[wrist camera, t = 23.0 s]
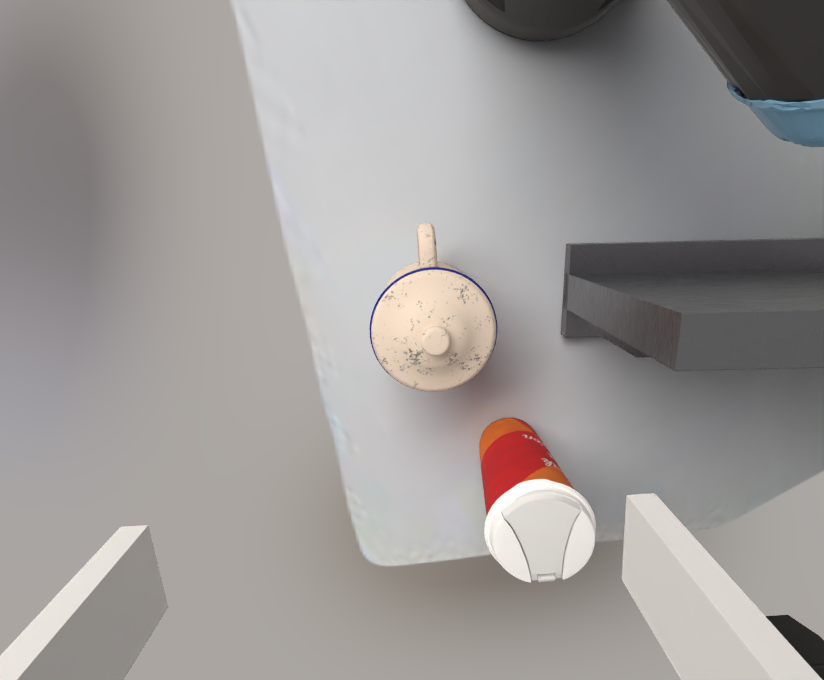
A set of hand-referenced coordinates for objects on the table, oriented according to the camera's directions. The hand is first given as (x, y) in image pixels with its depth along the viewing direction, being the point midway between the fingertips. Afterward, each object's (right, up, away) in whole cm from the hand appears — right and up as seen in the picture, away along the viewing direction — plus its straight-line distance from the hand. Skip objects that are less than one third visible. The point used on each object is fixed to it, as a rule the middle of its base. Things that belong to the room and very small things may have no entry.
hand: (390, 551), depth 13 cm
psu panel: (+27, +11, +28) cm, 40 cm away
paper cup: (+10, -4, +32) cm, 34 cm away
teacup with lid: (+2, +10, +28) cm, 30 cm away
